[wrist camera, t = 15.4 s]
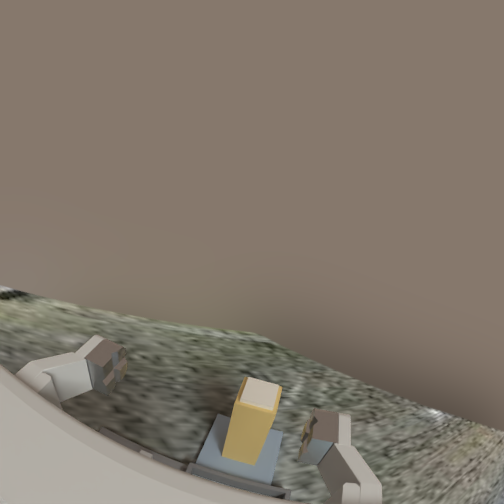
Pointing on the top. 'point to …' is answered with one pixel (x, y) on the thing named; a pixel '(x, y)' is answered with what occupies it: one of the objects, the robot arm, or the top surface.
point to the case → (201, 469)
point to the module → (251, 420)
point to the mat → (215, 461)
